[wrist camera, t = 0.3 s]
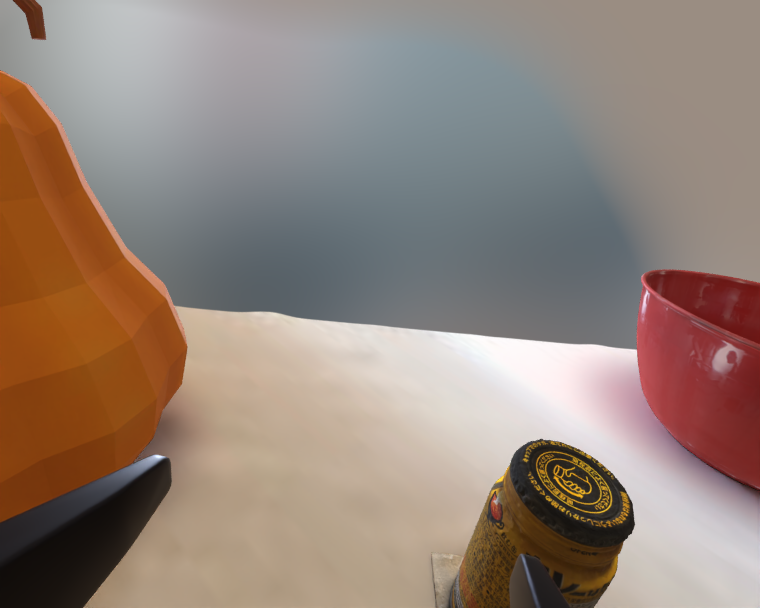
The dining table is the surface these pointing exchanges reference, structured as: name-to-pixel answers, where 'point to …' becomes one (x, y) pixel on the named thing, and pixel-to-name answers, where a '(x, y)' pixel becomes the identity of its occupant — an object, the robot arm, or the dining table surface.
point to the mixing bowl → (704, 365)
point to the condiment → (542, 530)
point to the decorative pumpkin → (70, 316)
